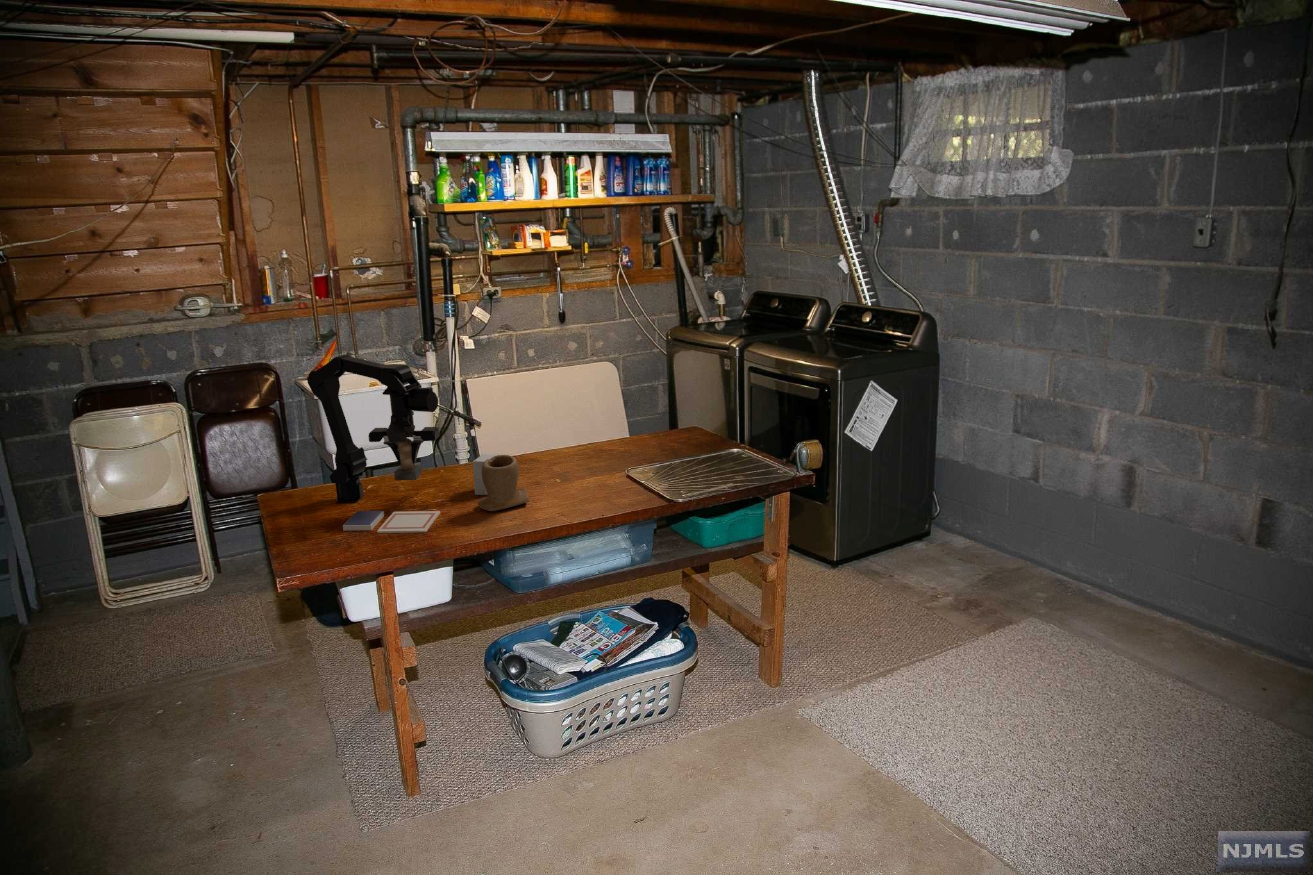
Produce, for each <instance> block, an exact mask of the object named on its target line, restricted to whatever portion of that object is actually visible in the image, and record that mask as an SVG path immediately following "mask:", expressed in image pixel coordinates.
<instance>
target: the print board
mask: <svg viewBox="0 0 1313 875" xmlns="http://www.w3.org/2000/svg"><path fill="white" fill-rule="evenodd" d="M440 513H441V511H440V510H434V511H433V510H432V511H431V510H430V511H429V510H428V511H427V510H421V511H415V510H414V511H411V510H410V511H393V512H392V513H391V515H390V516H389V517H388V518H387V519H386V520H385V521H384V523H382V525H381V526H380V527H379V528H378V529H377V531H376V533H378V534H387V533H389V534H390V533H391V534H394V533H397V534H398V533H401V534H403V533H427V532H428V530H429V529H430V527H431V526H432V525H433V523H434V522H435V521H436V519H437V518H438V517H439V515H440Z"/></svg>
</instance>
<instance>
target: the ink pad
mask: <svg viewBox="0 0 1313 875" xmlns="http://www.w3.org/2000/svg"><path fill="white" fill-rule="evenodd" d="M384 517H385V511H384V510H357V511H355V513H354V514H352V516H351V517H349V519H348V520H347V521H346V522H344V524H343V525H342V529H343V531H345V532H346V531H349V532H350V531H372V530H373V529H374V528H375V527H376V526H377V525H378V524H379V522H380V521H381V520H382V519H383V518H384Z"/></svg>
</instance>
